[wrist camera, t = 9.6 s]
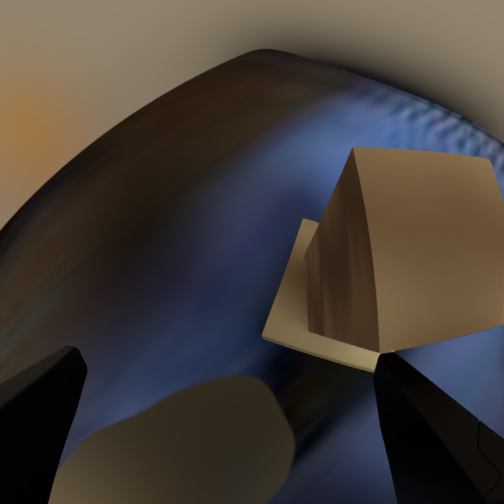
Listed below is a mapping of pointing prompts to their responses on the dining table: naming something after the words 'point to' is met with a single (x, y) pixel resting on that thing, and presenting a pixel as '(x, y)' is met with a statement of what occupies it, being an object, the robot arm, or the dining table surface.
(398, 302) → the column brick
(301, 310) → the base block
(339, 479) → the dining table surface
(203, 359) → the dining table surface
